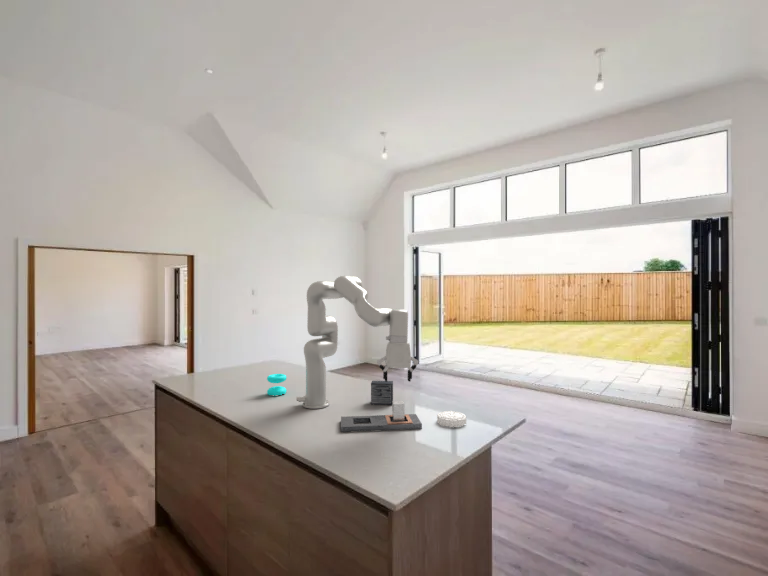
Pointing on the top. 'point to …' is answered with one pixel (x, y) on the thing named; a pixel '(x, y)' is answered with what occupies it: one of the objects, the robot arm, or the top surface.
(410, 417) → the rail
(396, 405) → the light grey block
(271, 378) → the donuts
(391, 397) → the small box
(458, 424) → the white bumpy disc
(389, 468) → the top surface
